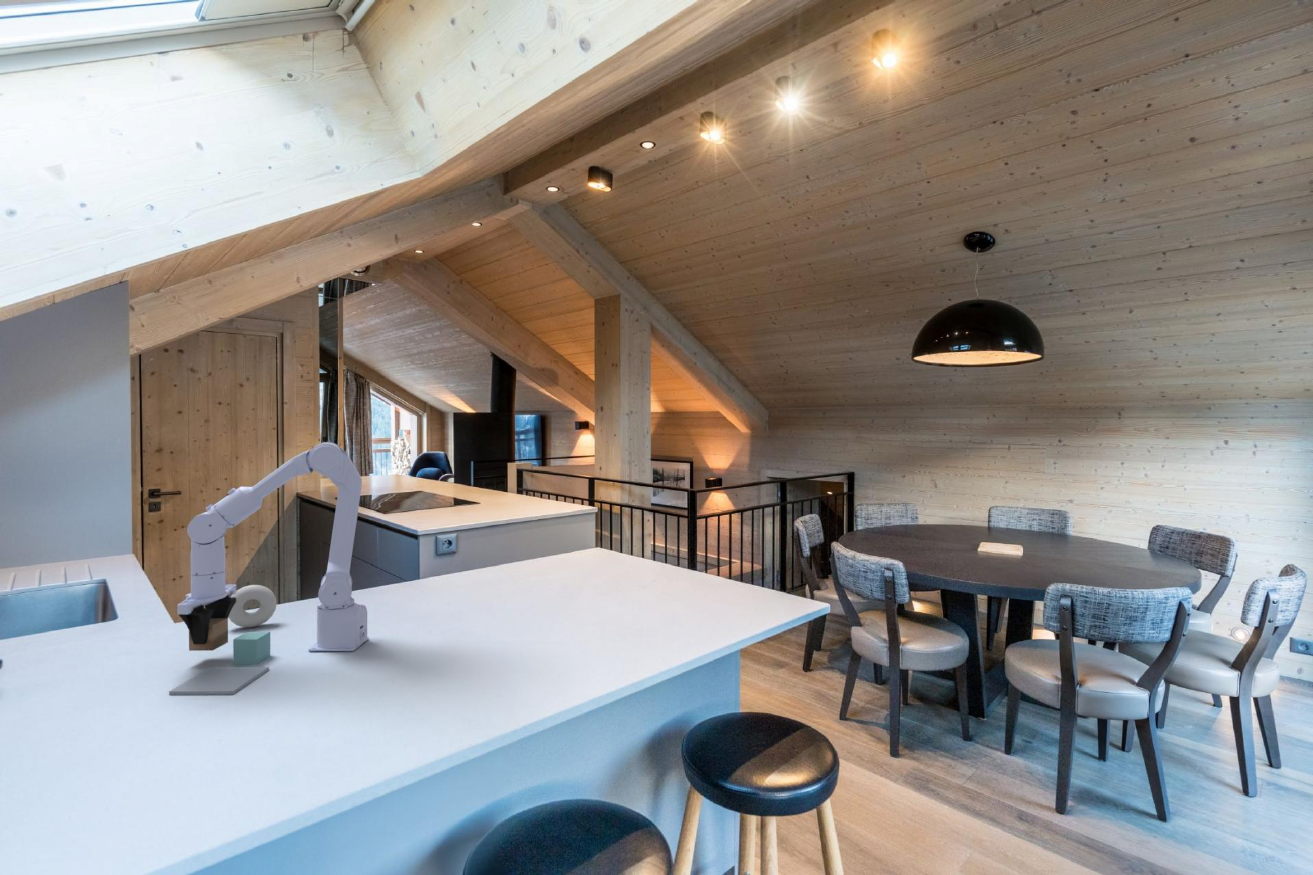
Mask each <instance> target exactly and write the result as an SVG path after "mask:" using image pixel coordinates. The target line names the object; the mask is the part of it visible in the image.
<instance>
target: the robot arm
mask: <svg viewBox="0 0 1313 875" xmlns="http://www.w3.org/2000/svg"><path fill="white" fill-rule="evenodd" d="M313 471H315V472H317V473H318V474H321V475H322V476H324V477H326V478H328V479H329V481H330V482H332V484H334V486H335V487H337V489H338V491H337V498H336V505H335V513H334V518H333V519H334V520H333V527H332V533H331V540H330V547H329V555H328V562H327V567H326V573H325V574H324V576H323V577H322V579H321V582H320V587H319V588H318V594H317V597H318V600H319V602H318V603H316V617H317V618H316V643H314V644H313V645H311V646H310V647H309V648H308V652H353V651H355V650H356V649H358V648H359V647H360V646H361V645H363V644H364V643H365V642H366V641H367V640H368V639H369V638H370V637H369V636H368V609H367V606H366V605H365V604H359V603H356V602H355V598H353V596H352V595H353V594H352V593H353V589H352V587H353V578H352V576H351V573H350V571H351V563H352V558H353V557H352V556H353V549H354V542H355V537H356V536H355V534H356V529H357V521H358V513H359V509H360V508H359V507H360V501H361V491H362V486H363V485H362V484H363V481H362V480H363V479H362V476H361V475H360V473H359V472H358V470H357V467H356V466H355V464H354V463H353V461H352V459H351V458H350V456H349V453H348V452H346V450H344V449H343V448H342V447H341V446H340V445H338V444H336V443H334V442H331V441H326V442H321V443H319V444H317V445H315V446H314V447H313V448H312V449H311V448H310V449H308V450H306V451H303V452H301V453H300V454H298V455H296V456H294V457H293V456H292V458H290V459H289V460H287V461H286V462H285V463H283V464H281V466H279V467H278V468H277V469H275V470H273V471H272V472H271V473H269V474H268V475H266V476H265V477H264V478H263V479H261V480H260V481H259V482H257V483H256V484H255V485H253V486H240V487H238V488H235V487H233V488H231V489H230V490H228V491H227V494H228V495H226V496H225V497H224V498H221V500H219V501H218V502H216V503H215V504H208V506H205V510H206V511H205V512H202V513H200V514H197V515H196V516H194V517H193V519H191V520H190V522H189V523H188V525H187V529H186V530H187V536H188V537H189V539H191V540H190V548H191V549H190V554H189V556H190V557H189V558H190V593H187V594H185V599H184V600H183V601H182V602H180V603H178V604H177V607H176V609H177V610H176V611H177V613H176V614H177V615H178V616H179V617H180V618H181V620H182V621H183V622H184V624H185V626H186V628H187V630H188V633H189V632H190V635H191V638H192V641H193V644H206V642H207V638H208V629H209V623H210V619H211V618H228V619H229V614H230V612H231V610H232V608H233V606H234V604H235V603H236V598H235V597H231V596H232V595H234V594H236V591H237V584H227V583H226V581H227V580H226V578H227V577H226V576H227V575H226V574H227V573H226V571H227V570H226V547H225V534H226V532H227V531H228V529H229V528H230V529H232V528H234V527H236V526H238V525H239V524H241V523H242V522H243V521H244V520H246V519H247V518H249V517H251V515H253V514H254V513H256V512H257V511H258V510H261V508H262V506H263V505H262V504H263V499H264V498H265V497H267V496H268V495H270V494H271V493H272V492H273V493H274V492H275V491H276V490H277V489H278V488H280V487H282V486H283V485H284V484H286V483H288V482H289V481H290V480H292V479H293V478H296V477H297V476H302V475H303V476H304V475H309V474H312V473H313ZM229 596H230V597H229Z"/></svg>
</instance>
